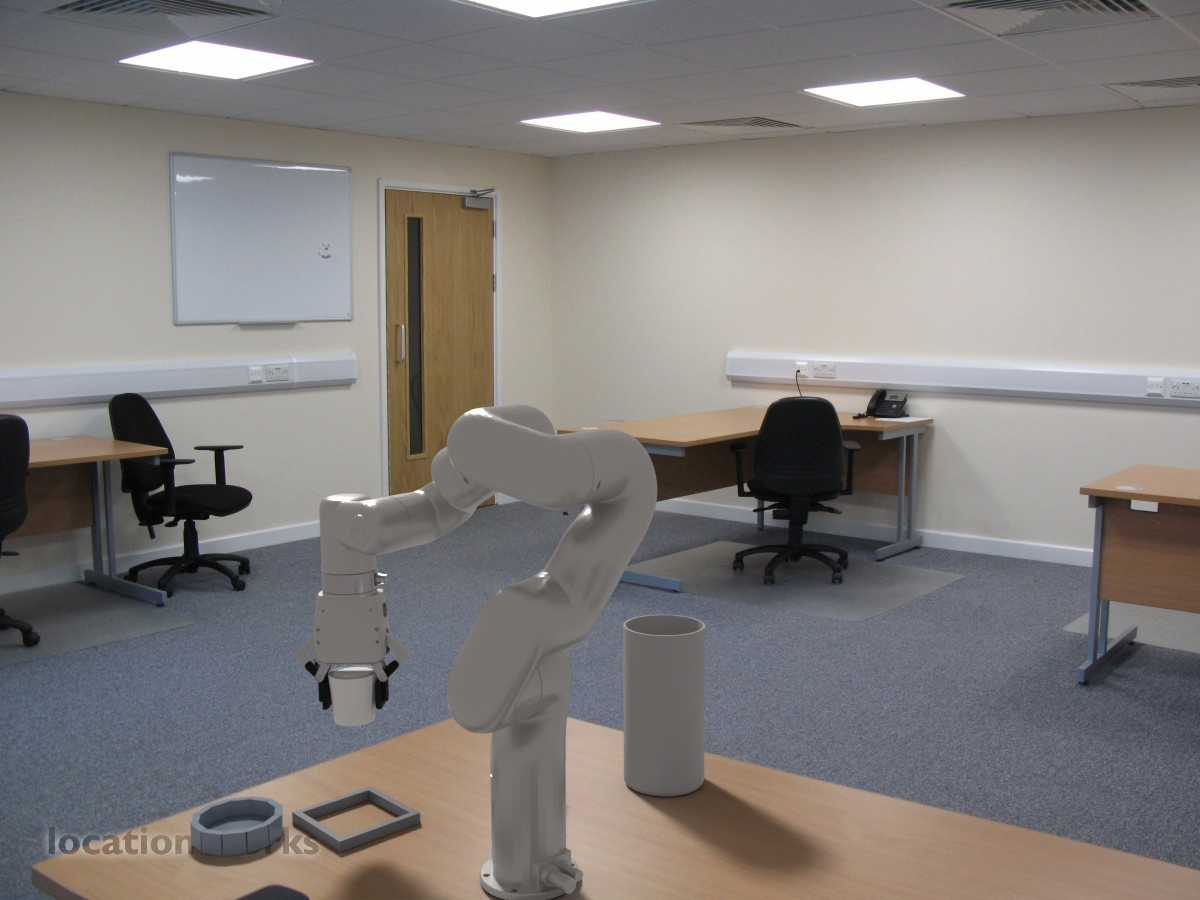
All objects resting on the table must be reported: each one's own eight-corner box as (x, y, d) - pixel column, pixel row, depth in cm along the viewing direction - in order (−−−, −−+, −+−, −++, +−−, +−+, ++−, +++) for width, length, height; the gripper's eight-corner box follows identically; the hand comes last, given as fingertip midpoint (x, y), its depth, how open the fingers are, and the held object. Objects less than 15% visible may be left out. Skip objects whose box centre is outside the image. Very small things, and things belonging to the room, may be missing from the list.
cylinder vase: (661, 805, 164) (661, 640, 161) (607, 779, 173) (606, 623, 171) (721, 784, 171) (722, 626, 169) (666, 760, 181) (666, 610, 179)
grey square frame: (420, 822, 158) (420, 812, 158) (340, 852, 149) (339, 841, 149) (370, 795, 168) (370, 786, 168) (292, 822, 159) (292, 812, 159)
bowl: (298, 835, 154) (297, 815, 154) (216, 864, 146) (215, 842, 146) (258, 809, 163) (257, 789, 163) (177, 835, 155) (176, 814, 154)
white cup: (385, 712, 160) (383, 664, 159) (371, 728, 153) (369, 679, 152) (339, 711, 161) (337, 664, 160) (323, 727, 154) (320, 678, 153)
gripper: (416, 576, 158) (420, 697, 160) (295, 577, 159) (300, 698, 161) (406, 588, 151) (410, 715, 153) (279, 589, 151) (285, 716, 153)
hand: (354, 705), depth 157 cm, fingers closed on white cup, 6 cm apart
